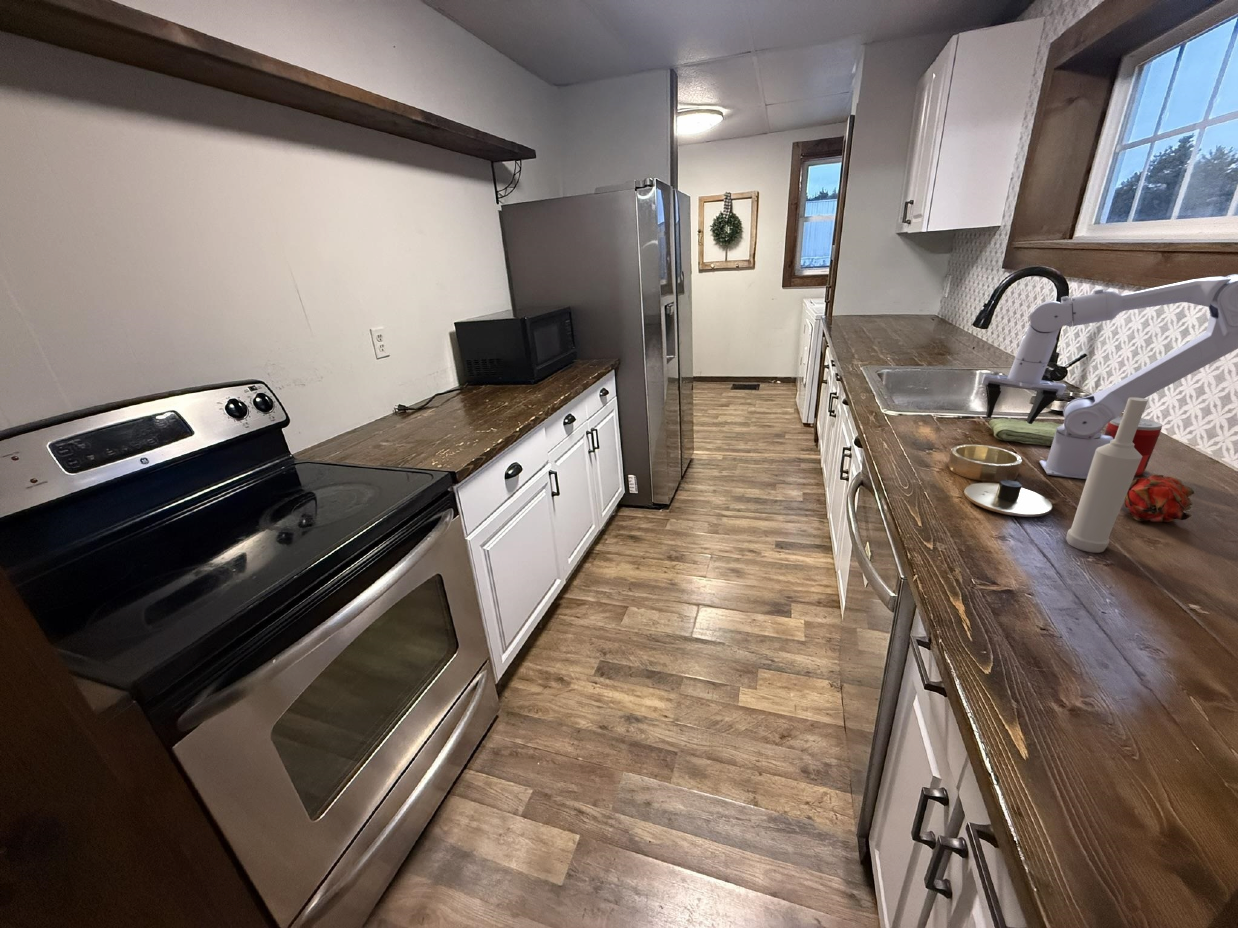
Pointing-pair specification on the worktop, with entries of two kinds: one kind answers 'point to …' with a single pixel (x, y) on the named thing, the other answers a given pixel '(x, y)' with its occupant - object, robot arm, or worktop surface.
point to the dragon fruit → (1158, 499)
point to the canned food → (1139, 438)
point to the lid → (1008, 499)
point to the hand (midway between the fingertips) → (1008, 419)
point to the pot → (984, 463)
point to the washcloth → (1024, 431)
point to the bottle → (1107, 484)
